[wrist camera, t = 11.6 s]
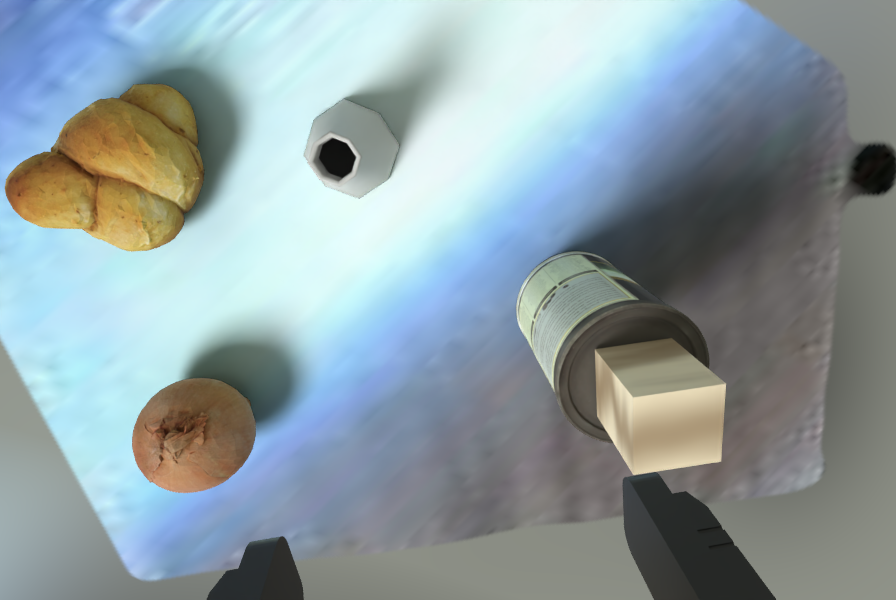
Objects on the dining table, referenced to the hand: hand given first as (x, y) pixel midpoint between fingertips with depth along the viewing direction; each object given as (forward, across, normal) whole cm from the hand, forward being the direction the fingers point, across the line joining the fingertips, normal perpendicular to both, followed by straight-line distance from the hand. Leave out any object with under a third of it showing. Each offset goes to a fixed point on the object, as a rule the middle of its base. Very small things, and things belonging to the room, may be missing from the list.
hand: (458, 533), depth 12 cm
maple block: (+19, -12, +9) cm, 25 cm away
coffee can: (+34, -12, +10) cm, 37 cm away
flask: (+34, +4, -7) cm, 35 cm away
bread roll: (+34, +20, -8) cm, 40 cm away
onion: (+34, +22, +14) cm, 42 cm away
